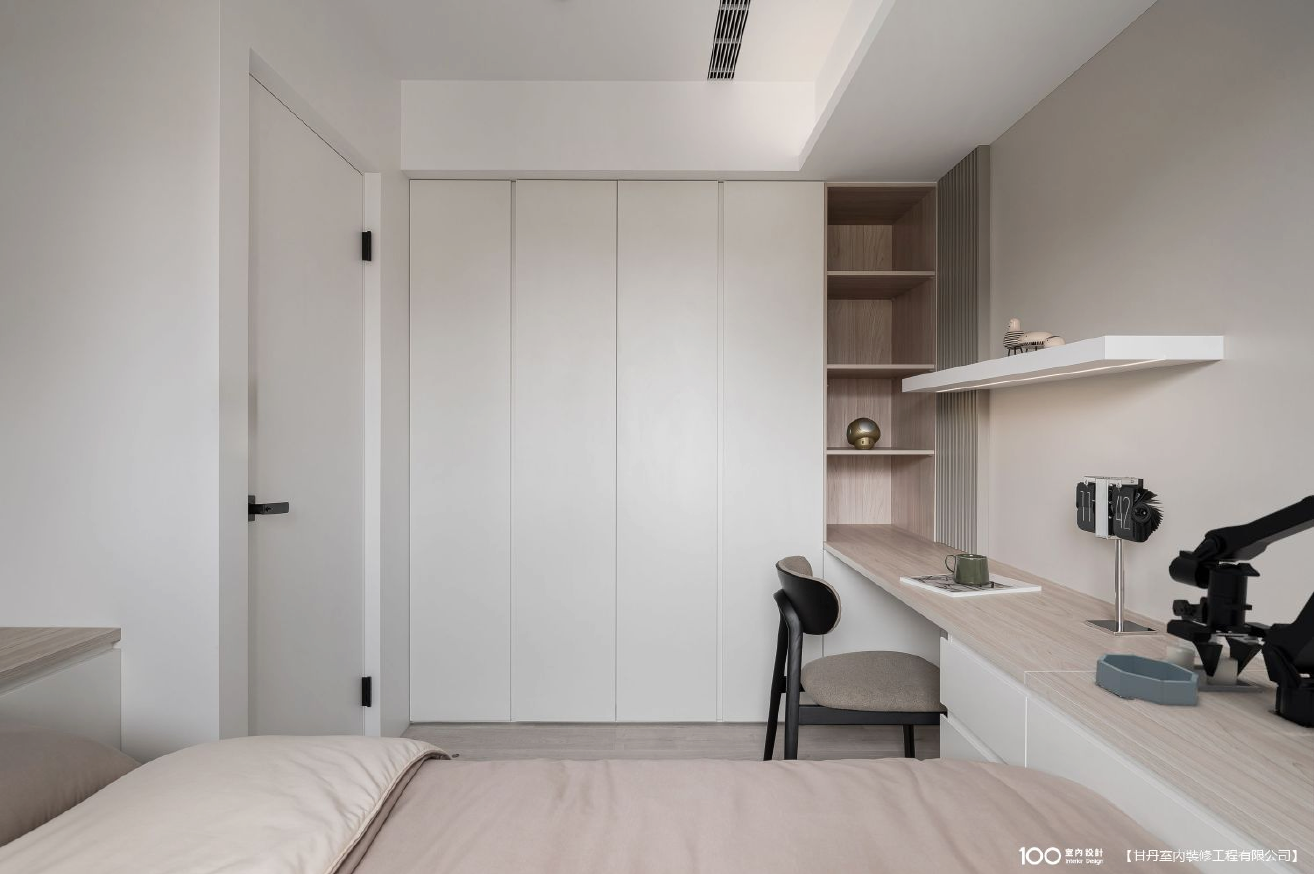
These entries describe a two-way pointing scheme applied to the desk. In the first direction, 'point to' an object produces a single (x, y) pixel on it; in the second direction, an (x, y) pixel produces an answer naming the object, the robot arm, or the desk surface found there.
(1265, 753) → the desk surface
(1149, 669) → the bowl
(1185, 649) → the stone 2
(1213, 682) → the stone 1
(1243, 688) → the parts tray
